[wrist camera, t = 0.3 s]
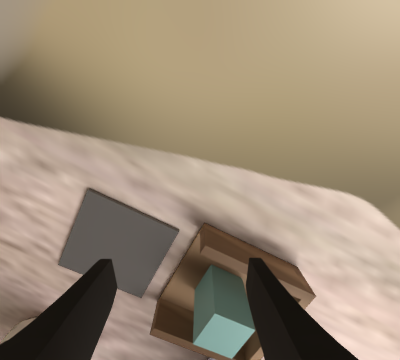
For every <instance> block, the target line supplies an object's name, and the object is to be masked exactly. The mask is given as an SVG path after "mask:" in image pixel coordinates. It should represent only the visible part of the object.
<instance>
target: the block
mask: <svg viewBox="0 0 400 360" xmlns="http://www.w3.org/2000/svg"><path fill="white" fill-rule="evenodd" d="M254 331H255V326H254V323H253V319H252V315H251V311H250V307H249V303H248V299H247V295H246V291H245V288H244V284H243V280H242V278H240V277H238V276H236V275H234V274H231V273H229V272H227V271H225V270H223V269H220V268H218V267H216V266H214V265H211V266H210V267H209V269H208V270H207V272H206V273H205V275H204V276H203V278H202V279H201V281H200V282H199V284H198V286H197V287H196V289H195V294H194V325H193V344H194V345H197V346H199V347H202V348H205V349H207V350H210V351H212V352H215V353H218V354H220V355H223V356H225V357H228V358H231V359H232V358H233V357H234V356H235V355H236V353H237V352H238V351H239V350H240V348H241V347H242V346H243V345H244V344H245V342H246V341H247V340H248V339H249V337H250V336H251V335H252V334H253V333H254Z"/></svg>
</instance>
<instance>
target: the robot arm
mask: <svg viewBox="0 0 400 360" xmlns="http://www.w3.org/2000/svg"><path fill="white" fill-rule="evenodd" d="M116 291H117V282H116V277H115V272H114V267H113V263H112V259H99V260H98V261H97V262H96V263H95V264H94V265H93V266H92V267H91V268H90V269H89V270H88V271H87V272H86V273H85V274H84V275H83V276H82V277H81V278H80V279H79V280H78V281H77V282H76V283H75V284H73V285H72V286H71V287H70V288H69V289H68V290H67V291H66V292H65V293H64V294H63V295H62V296H61V297H60V298H59V299H57V300H56V301H55V302H54V303H53V304H52V305H51V306H50V307H48V308H47V309H46V310H45V311H44V312H43V313H42V314H40V315H39V316H38V317H37V318H36V319H34V320H33V321H32V322H31V323H30V324H28V325H27V326H26V327H24V328H23V329H22V330H21V331H19V332H18V333H17V334H15V335H14V336H13V337H12V338H10V339H9V340H8V341H6V342H5V343H3V344H2V345H1V346H0V360H91V357H92V355H93V352H94V350H95V347H96V345H97V343H98V340H99V338H100V335H101V333H102V330H103V328H104V326H105V323H106V321H107V318H108V316H109V313H110V311H111V308H112V305H113V302H114V298H115V295H116ZM246 291H247V296H248V302H249V307H250V310H251V314H252V317H253V321H254V324H255V327H256V331H257V334H258V338H259V341H260V344H261V348H262V351H263V355H264V358H265V360H358V359H357V358H356V357H355V356H354V355H353V354H351V353H350V352H349V351H348V350H347V349H345V348H344V347H343V346H342V345H341V344H339V343H338V342H337V341H336V340H335V339H334V338H333V337H332V336H331V335H330V334H328V333H327V332H326V331H325V330H324V329H323V328H322V327H321V326H320V325H319V324H318V323H317V322H316V321H315V320H314V319H313V318H312V317H311V316H310V315H309V314H308V313H307V312H306V311H305V310H304V309H303V308H302V307H301V305H300V304H299V303H298V302H297V301H296V300H295V299H294V298H293V297H292V295H291V294H290V293H289V292H288V291H287V290H286V288H285V287H284V286H283V285H282V284H281V282H280V281H279V280H278V279H277V278H276V276H275V275H274V274H273V272H272V271H271V270H270V269H269V267H268V266H267V265H266V263H265V262H264V261H263V259H262V258H249V264H248V271H247V279H246ZM208 360H216V359H213V358H211V357H210V358H209V359H208Z"/></svg>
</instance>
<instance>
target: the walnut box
mask: <svg viewBox="0 0 400 360" xmlns="http://www.w3.org/2000/svg"><path fill="white" fill-rule="evenodd" d="M249 258H262V259H263V261H264V262H265V263H266V265H267V266H268V267H269V269H270V270H271V271H272V272H273V274H274V275H275V276H276V278H277V279H278V280H279V281H280V282H281V284H282V285H283V286H284V287H285V288H286V290H287V291H288V292H289V293H290V294H291V295H292V297H293V298H294V299H295V300H296V301H297V302H298V303H299V304H300V305H301V307H302V308H303V309H305V308H306V307H307V306H308V305H309V304H310V303H311V301H312V300H313V299H314V298H315V297H316V295H315V294H314V292H313V291H312V289H311V288H310V286H309V284H308V283H307V281H306V280H305V278H304V277H303V275H302V273H301V272H300V270H299V269H298V267H296V266H294V265H292V264H290V263H288V262H286V261H284V260H281V259H279V258H277V257H275V256H273V255H271V254H269V253H267V252H265V251H263V250H260V249H258V248H256V247H254V246H252V245H250V244H248V243H246V242H244V241H242V240H239V239H237V238H235V237H233V236H231V235H229V234H227V233H225V232H223V231H220V230H218V229H216V228H214V227H212V226H210V225H208V224H206V223H204V224H203V226H202V228H201V229H200V231H199V233H198V234H197V236H196V238H195V239H194V241H193V243H192V244H191V246H190V248H189V249H188V251H187V253H186V254H185V256H184V258H183V259H182V261H181V263H180V264H179V266H178V268H177V269H176V271H175V273H174V274H173V276H172V278H171V279H170V281H169V283H168V284H167V286H166V288H165V290H164V291H163V293H162V295H161V296H160V298H159V300H158V301H157V305H156V310H155V314H154V318H153V323H152V327H151V331H150V335H152V336H155V337H158V338H160V339H163V340H166V341H168V342H171V343H174V344H176V345H179V346H181V347H184V348H187V349H189V350H192V351H195V352H197V353H200V354H203V355H205V356H208V357H211V358H213V359H216V360H260V359H261V358H262V357H263V356H264V355H263V351H262V348H261V344H260V341H259V338H258V334H257V331H256V327H255V331H254V333H253V334H252V335H251V336H250V337H249V339H248V340H247V341H246V342H245V344H244V345H243V346H242V347H241V348H240V350H239V351H238V352H237V353H236V355H235V356H234V357H233V358H232V359H231V358H228V357H225V356H223V355H220V354H218V353H215V352H212V351H210V350H207V349H205V348H202V347H199V346H197V345H194V344H193V325H194V294H195V289H196V287H197V286H198V284H199V282H200V281H201V279H202V278H203V276H204V275H205V273H206V272H207V270H208V269H209V267H210V266H211V265H214V266H216V267H218V268H220V269H223V270H225V271H227V272H229V273H231V274H234V275H236V276H238V277H240V278H242V280H243V284H244V288H245V291H246V279H247V271H248V264H249ZM246 295H247V291H246ZM247 299H248V296H247ZM248 303H249V302H248ZM250 311H251V310H250ZM251 315H252V314H251ZM252 319H253V317H252ZM253 323H254V321H253ZM254 326H255V324H254Z"/></svg>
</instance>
